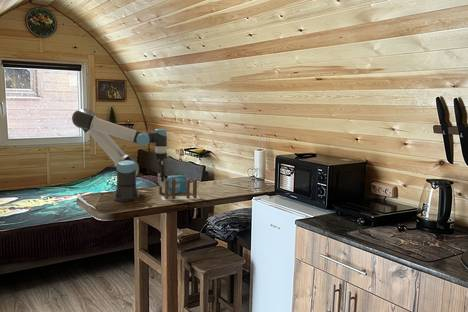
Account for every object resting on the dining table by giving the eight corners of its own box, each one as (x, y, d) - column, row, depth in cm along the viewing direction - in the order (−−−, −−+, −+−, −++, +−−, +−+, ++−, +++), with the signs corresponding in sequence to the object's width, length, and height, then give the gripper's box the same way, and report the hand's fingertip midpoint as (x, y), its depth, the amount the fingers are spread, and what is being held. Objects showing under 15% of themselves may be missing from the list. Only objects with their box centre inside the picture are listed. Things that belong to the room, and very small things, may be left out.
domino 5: (194, 198, 268) (194, 179, 266) (192, 196, 273) (193, 178, 271) (196, 198, 268) (197, 179, 267) (195, 196, 273) (195, 178, 272)
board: (162, 201, 260) (162, 200, 260) (160, 198, 269) (160, 196, 269) (200, 200, 267) (200, 198, 266) (197, 197, 276) (197, 195, 276)
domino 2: (165, 199, 263) (165, 179, 261) (164, 197, 268) (164, 178, 266) (168, 198, 263) (168, 179, 262) (167, 197, 268) (167, 178, 267)
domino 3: (172, 198, 264) (173, 179, 263) (171, 197, 269) (171, 178, 267) (175, 198, 264) (175, 179, 263) (174, 197, 269) (174, 178, 268)
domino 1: (159, 195, 277) (159, 177, 275) (158, 194, 281) (159, 176, 280) (162, 195, 277) (162, 177, 276) (161, 194, 282) (161, 176, 280)
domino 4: (187, 198, 266) (187, 179, 265) (185, 196, 271) (186, 178, 270) (189, 198, 267) (189, 179, 266) (188, 196, 272) (188, 178, 270)
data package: (169, 194, 280) (169, 176, 279) (166, 193, 284) (167, 175, 283) (186, 193, 286) (186, 176, 285) (183, 192, 290) (183, 175, 289)
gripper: (169, 154, 265) (169, 188, 268) (164, 150, 289) (164, 181, 291) (157, 154, 263) (157, 188, 266) (153, 150, 287) (153, 181, 289)
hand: (161, 184), depth 279 cm, fingers open, 13 cm apart
